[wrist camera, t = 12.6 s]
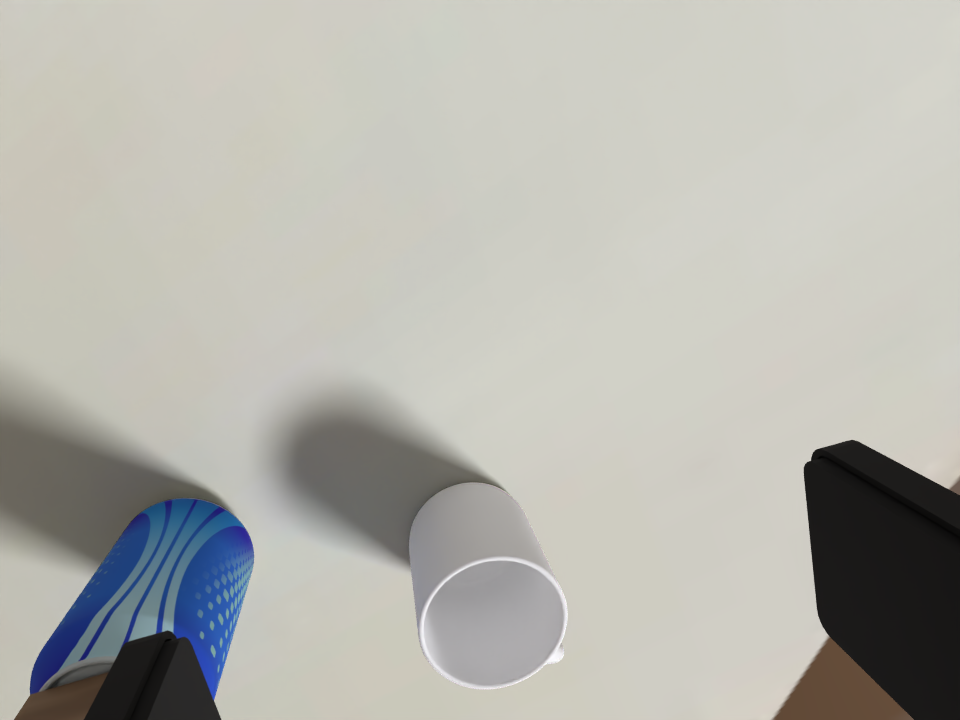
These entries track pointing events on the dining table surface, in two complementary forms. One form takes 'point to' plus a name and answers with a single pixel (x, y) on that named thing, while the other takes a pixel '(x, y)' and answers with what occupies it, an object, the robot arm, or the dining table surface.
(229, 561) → the beer can
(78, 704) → the walnut block
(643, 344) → the dining table surface
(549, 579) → the mug
